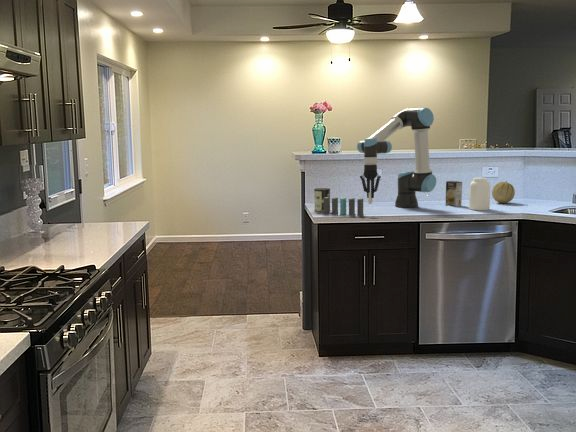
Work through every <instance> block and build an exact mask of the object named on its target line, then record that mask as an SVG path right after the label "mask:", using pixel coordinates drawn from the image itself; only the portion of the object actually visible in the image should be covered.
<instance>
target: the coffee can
mask: <svg viewBox="0 0 576 432" xmlns="http://www.w3.org/2000/svg"><path fill="white" fill-rule="evenodd" d="M313 190H314V191H313V192H314V211H315V212H323V213H324V198H325V197H330V198H331V188H329V187H328V188H327V187H321V188H320V187H318V188H314V189H313Z"/></svg>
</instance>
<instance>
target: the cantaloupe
mask: <svg viewBox="0 0 576 432" xmlns="http://www.w3.org/2000/svg"><path fill="white" fill-rule="evenodd" d="M491 190H492V191H491V196H492V197H493V200H494V201H495V202H497V203H499V204H507V203H510V202H511V201H513V199H514V198H515V194H516V190H515V187H514V186H513V184H511V183H509V182H508V181H507V180H505V181H499V182H496V184H495V185H493V187H492V189H491Z"/></svg>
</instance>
